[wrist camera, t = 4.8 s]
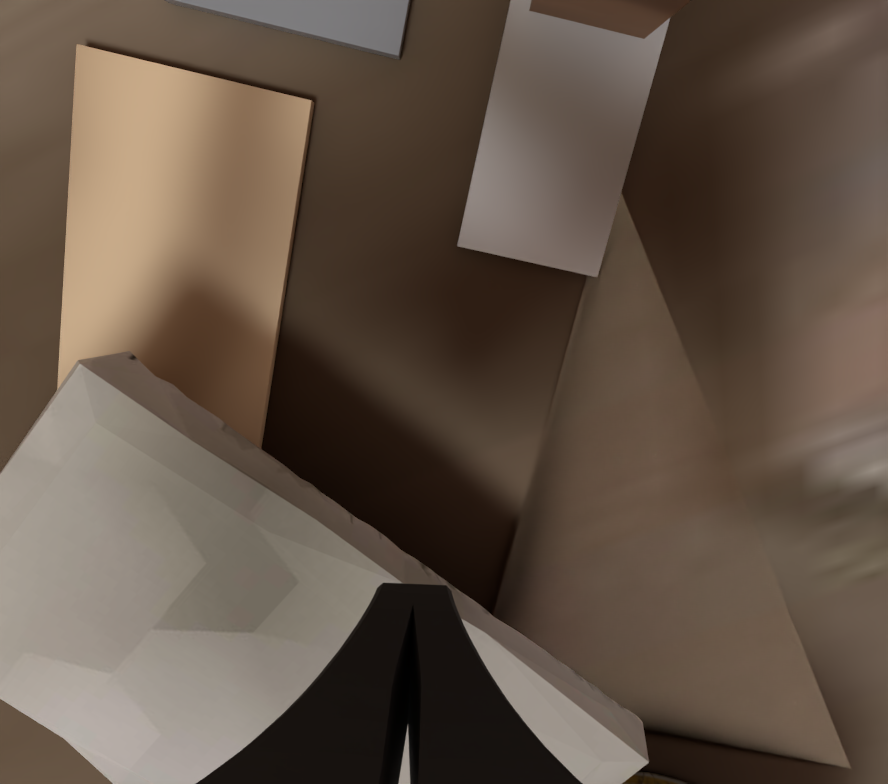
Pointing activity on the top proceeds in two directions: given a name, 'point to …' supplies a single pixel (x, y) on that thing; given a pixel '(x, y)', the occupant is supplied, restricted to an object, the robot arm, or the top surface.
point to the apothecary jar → (651, 779)
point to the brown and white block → (562, 128)
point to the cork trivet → (181, 228)
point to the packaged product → (212, 592)
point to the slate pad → (322, 20)
